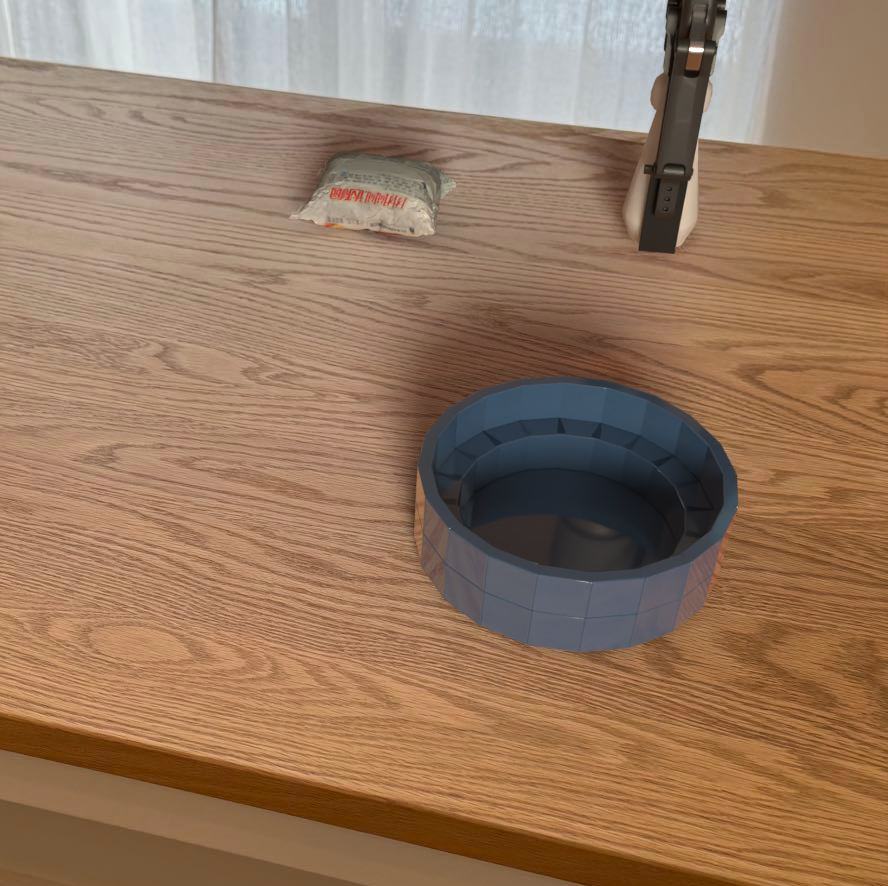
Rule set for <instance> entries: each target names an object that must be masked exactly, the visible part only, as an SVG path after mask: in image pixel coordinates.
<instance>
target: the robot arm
mask: <svg viewBox="0 0 888 886" xmlns="http://www.w3.org/2000/svg"><path fill="white" fill-rule="evenodd" d="M726 4H727V0H667V3H666V7H665V8H666V9H665V25H664V26H665V27H664V28H665V35H664V40H663V41H664V42H663V51H664V57H663V64H662V70H663V72H662V73H664V72H665V74H667V75H668V77H669V78H668V84H667V91H666V97H665V104H664V110H663V117H662V123H661V130H660V136H659V143H658V149H657V155H656V161H655V163H653V165H649V164H644V172H643V174H650V175H651V176H650V182H649V188H648V194H647V200H646V205H645V211H644V217H643V223H642V229H641V235H640V241H639V247H638V252H648V253H657V254H659V253H660V254H667V255H668V254H671V255H675V253H676V249H677V247H676V243H677V238H678V233H679V227H680V222H681V217H682V212H683V206H684V201H685V196H686V191H687V186H688V181H690V179H691V177H692V176H693V172H694V169H693V162H694V157H695V152H696V146H697V141H698V139H699V135H700V130H701V126H702V125H701V124H702V119H703V114H704V113H703V109H704V104H705V98H706V93H707V88H708V82H709V81H710V77H712V76H713V74H714V72H715V65H716V60H717V54H718V48H719V43H720V40H721V38H722V37H723V35H724V33H725V29H726V25H727V24H726V23H727V18H728V9H726V6H727V5H726Z"/></svg>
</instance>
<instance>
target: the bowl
mask: <svg viewBox="0 0 888 886" xmlns="http://www.w3.org/2000/svg"><path fill="white" fill-rule="evenodd" d="M416 466H417V467H416V483H415V484H416V486H415V501H414V504H415V505H414V523H413V537H414V541H415V545H416V546H415V547H416V550H417V555H418V560H419V564H420V567H421V569H422V570H423V571H424V573H425V574H426V576H427V577H428V578H429V580H430V582H431V583H432V584H433V585H434V587H435V589H436V590H437V591H438V593H439V594H440V595H441V597H442V598H443V600H444V601H446V602H447V603H448V604H450V605H451V606H452V607H453V608H455V609H456V610H458V611H459V612H460V613H462V614H463V615H464V616H466V617H467V618H468V619H470V620H471V621H472V622H474V623H475V624H477V626H479V627H481V628H484V629H487V630H489V631H491V632H494V633H497V634H500V635H501V636H504V637H507V638H508V639H512V640H514V641H517V642H519V643H520V644H521V643H522V644H523V645H528V646H532V647H539V648H545V649H553V650H560V651H566V652H572V653H589V652H601V651H603V652H604V651H613V650H624V649H626V650H627V649H631V648H634V647H637V646H639V645H642V644H645V643H647V642H651V641H653V640H656V639H658V638H662V637H664V636H667V635H670V634H672V633H674V632H675V631H676V630H677V629H679V628H681V626H683V624H685V623H686V622H687V621H689V620H690V619H691V618H692V617H694V615H696V614H697V613H698V612H699V611H700V610H702V609H703V608H704V606H705V604H706V602H707V600H708V599H709V596H710V595H711V592H712V591H713V588H714V586H715V584H716V583H717V580H718V579H719V575H720V572H721V568H722V565H723V562H724V558H725V555H726V552H727V548H728V544H729V541H730V537H731V535H732V531H733V527H734V524H735V520H736V516H737V513H738V510H739V484H738V483H739V480H738V478H739V477H738V473H737V471H736V469H735V468H734V466H733V463H732V462H731V460H730V458H729V456H728V454H727V452H726V450H725V448H724V446H723V445H722V443H721V442H720V441H719V440H718V439H717V438H716V437H715V436H714V435H713V434H711V432H710V431H708V430H707V429H706V428H705V427H704V425H702V424H701V423H700V422H699V421H698V420H696V418H695V417H694V416H692V415H691V414H690V413H688V412H687V411H684V410H683V409H681V408H680V407H677V406H676V405H673V404H672V403H670V402H668V401H666V400H665V399H663V398H661V397H659V396H657V395H655V394H653V393H650V392H646V391H643V390H641V389H637V388H633V387H631V386H626V385H624V384H621V383H619V382H618V383H617V382H615V381H610V380H607V379H606V380H605V379H596V378H589V377H582V376H581V377H580V376H571V375H552V376H537V377H520V378H515V379H512V380H509V381H506V382H501V383H499V384H495V385H491V386H488V387H484V388H481V389H478V390H476V391H474V392H472V393H471V394H469V395H467V396H466V397H465V398H463V399H460V400H459V401H457V402H456V403H454V404H453V405H451V406H449V407H447V408H446V409H445V410H444V411H443V412H442V414H441V415H440V416H439V417H438V418H437V420H436V421H435V422H434V423H433V424H432V426H431V427H430V428H429V429H428V431H427V432H425V434H424V437H423V442H422V445H421V449H420V452H419V458H418V461H417V465H416Z"/></svg>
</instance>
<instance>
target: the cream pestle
mask: <svg viewBox="0 0 888 886" xmlns="http://www.w3.org/2000/svg"><path fill="white" fill-rule="evenodd" d="M663 72H664V71H663ZM663 72H662V73H660V74H659V75H658V76H656V78H655V79H654V82H653V84H652V87H651V90H650V100H649V101H650V105H651V106H652V108H653V110H655V113H654V116H653V119H652V122H651V125H650V127H649V130H648V134H647V136H646V139H645V142H644V145H643V148H642V151H641V153H640V156H639V159H638V162H637V165H636V167H635V170H634V174H633V177H632V179H631V182H630V186H629V187H628V190H627V194H626V197H625V199H624V202H623V204H622V208H621V215H622V218H623V221H624V225H625V228H626V232H627V234H628V238H629V239H630V240H631V242H633V243H634V244H635V245H636V246H637V247H638V248H639V241H640V235H641V229H642V223H643V217H644V211H645V205H646V200H647V194H648V188H649V182H650V176H651V175H650V174H643V172H644V164H649V165H653V163H655V161H656V155H657V149H658V143H659V136H660V130H661V123H662V117H663V110H664V104H665V97H666V91H667V84H668V78H669V77H668V75H667V74H665V72H664V73H663ZM712 97H713V83H712V82H711V81H710V80H709V82H708V88H707V93H706V98H705V104H704V109H703V114H704V113H706V112H707V111H708V110H709V107H710V104H711V100H712ZM699 148H700V147H699V138H698V141H697V146H696V152H695V157H694V162H693V169H694V172H693V176H692V177H691V179H690V181H688V186H687V191H686V196H685V201H684V206H683V212H682V217H681V222H680V227H679V233H678V238H677V243H676V248H677V247H681V246H682V245H683V243H684V242H685V240H686V239H687V238H688V237H689V235H690V234H691V232H692V231H693V229H694V228H695V226H696V223H697V222H698V218H699V215H700V161H699V160H700V158H699V157H700V154H699V151H700V149H699Z"/></svg>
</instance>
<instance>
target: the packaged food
mask: <svg viewBox="0 0 888 886" xmlns="http://www.w3.org/2000/svg"><path fill="white" fill-rule="evenodd" d="M316 175H317V176H316V178H317V179H316V181H319V182H318V184H317V186H316V187H315V189H314V191H313V193H312V195H311V196H310V197H309V198H308V199H306V200H304V201H303V202H302V203H301V204H300V205H298V206H297V207H296V208H295V209H294V210H292V211H291V213H290V215H289V218H288V219H290V220H298V219H300V220H305V221H311V220H312V221H313V223H314V224H316V225H318V226H320V227H323V228H327V229H328V228H329V229H330V228H331V229H340V230H341V229H342V230H352V231H353V230H354V231H371V232H373V233H375V234H379V235H393V236H405V237H414V238H418V237H420V236H423V235H424V236H426V237H427V236H434V235H435V234H436V232H437V228H438V220H437V218H438V215H437V213H440V214H442V211H441V208H440V202H441V200H442V199H444V198H445V197H446V195H447V194H448V193H451V192H452V190H453V189H457V185H458V183H457V182H456V181H455V180H454V179H453V178H452V177H450V176H449V175H448V174H446V173H445V171H443V170H442V169H441V168H439V167H437V166H436V165H434V164H433V163H431V162H430V161H427V160H421V159H412V158H407V157H398V156H384V155H382V154H375V153H368V152H361V151H358V150H357V151H356V150H349V151H347V150H346V151H339V152H336V153H334V154H333V155H332V156H331V157H329V159H328V160H327V161H324V166H323V167H322V168H321V167H320V168H319V170H318V172H316Z"/></svg>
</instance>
